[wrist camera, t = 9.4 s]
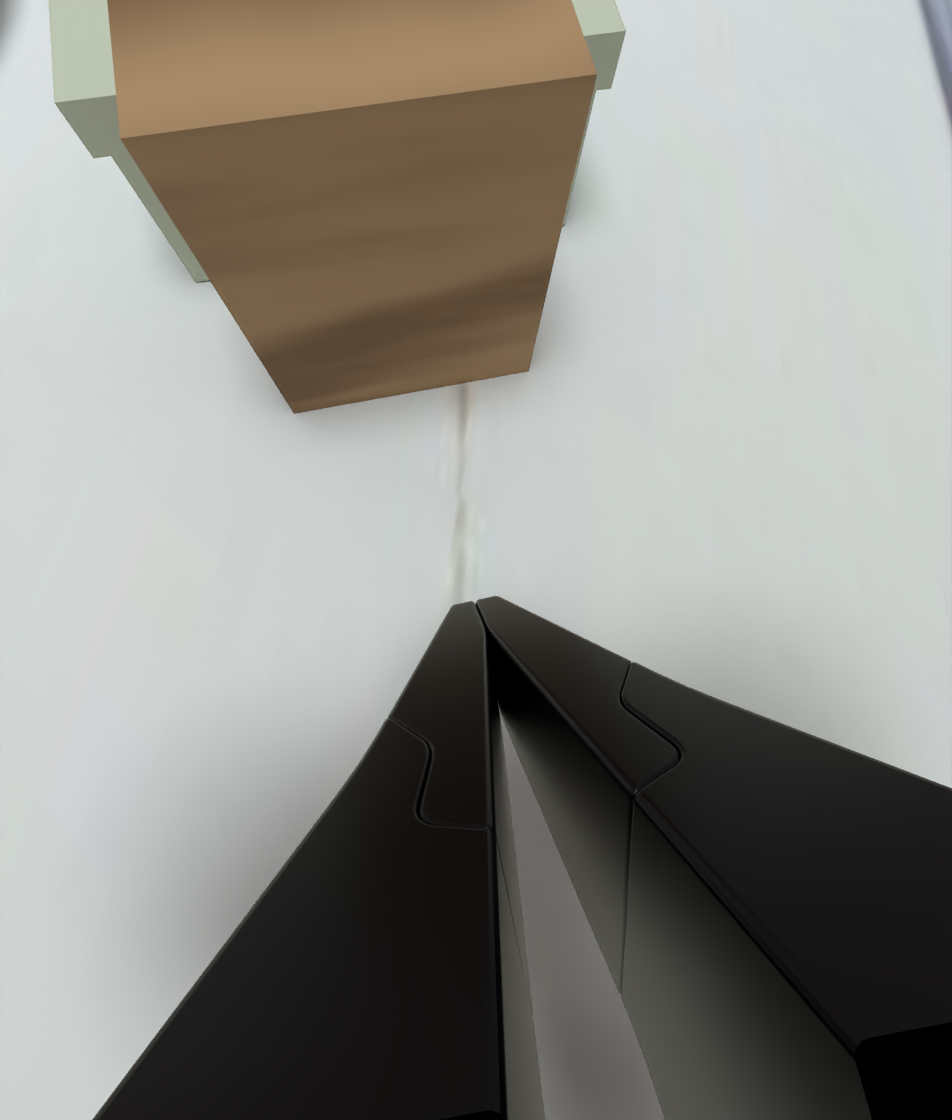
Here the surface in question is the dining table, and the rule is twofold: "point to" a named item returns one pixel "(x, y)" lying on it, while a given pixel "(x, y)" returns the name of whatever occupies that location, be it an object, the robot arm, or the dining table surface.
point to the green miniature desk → (93, 103)
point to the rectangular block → (362, 175)
